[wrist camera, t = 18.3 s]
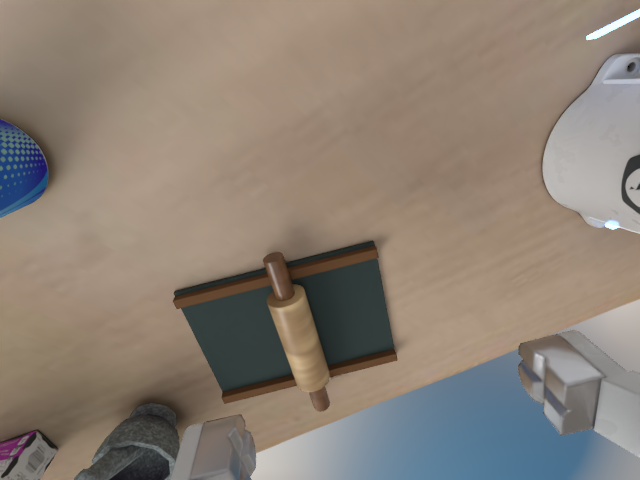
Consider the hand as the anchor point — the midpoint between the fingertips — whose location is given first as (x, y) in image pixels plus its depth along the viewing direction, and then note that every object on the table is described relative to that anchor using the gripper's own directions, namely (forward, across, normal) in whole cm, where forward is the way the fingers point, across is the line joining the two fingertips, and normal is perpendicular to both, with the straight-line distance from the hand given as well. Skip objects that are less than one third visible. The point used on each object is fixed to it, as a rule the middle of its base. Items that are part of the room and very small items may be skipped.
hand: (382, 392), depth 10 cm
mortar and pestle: (+29, +30, +28) cm, 50 cm away
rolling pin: (+29, +6, +19) cm, 35 cm away
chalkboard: (+29, +7, +19) cm, 35 cm away
